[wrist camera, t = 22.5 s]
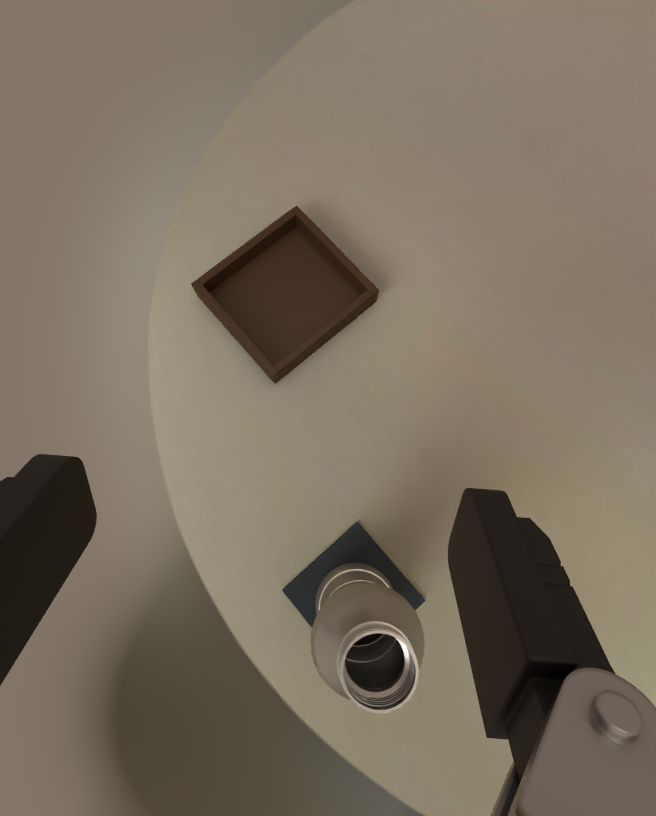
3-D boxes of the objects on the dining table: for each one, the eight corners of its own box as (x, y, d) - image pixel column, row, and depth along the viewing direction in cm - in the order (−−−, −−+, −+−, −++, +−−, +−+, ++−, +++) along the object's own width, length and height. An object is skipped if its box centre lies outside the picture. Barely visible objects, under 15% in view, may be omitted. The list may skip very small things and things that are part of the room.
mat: (349, 673, 40) (349, 674, 40) (282, 589, 41) (282, 590, 41) (424, 600, 41) (425, 600, 41) (357, 521, 43) (357, 521, 42)
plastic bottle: (392, 637, 40) (457, 749, 21) (315, 637, 40) (306, 751, 21) (390, 559, 42) (448, 596, 22) (315, 559, 42) (307, 597, 22)
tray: (275, 384, 46) (272, 376, 43) (197, 295, 48) (190, 283, 45) (376, 301, 48) (379, 289, 45) (297, 220, 50) (296, 205, 48)
